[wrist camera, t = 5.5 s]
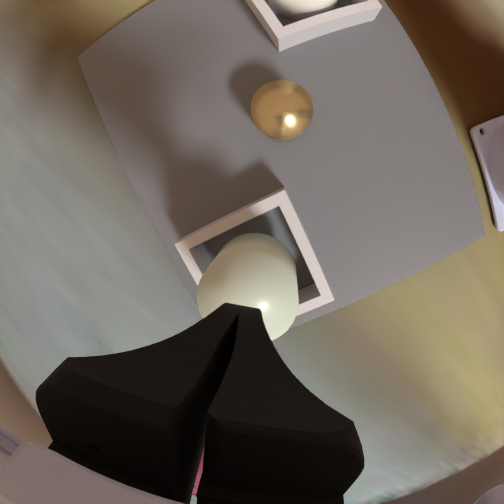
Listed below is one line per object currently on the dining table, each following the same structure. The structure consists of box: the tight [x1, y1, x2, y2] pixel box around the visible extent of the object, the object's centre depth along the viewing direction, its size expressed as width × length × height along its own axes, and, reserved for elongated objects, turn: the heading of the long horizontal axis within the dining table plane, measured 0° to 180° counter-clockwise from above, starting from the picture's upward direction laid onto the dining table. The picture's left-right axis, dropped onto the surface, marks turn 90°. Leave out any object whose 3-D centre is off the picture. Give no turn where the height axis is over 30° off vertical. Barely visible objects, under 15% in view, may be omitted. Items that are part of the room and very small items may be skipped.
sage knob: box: [197, 233, 299, 341], centre depth 15 cm, size 4×4×4 cm
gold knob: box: [251, 80, 313, 142], centre depth 14 cm, size 3×3×2 cm
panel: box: [77, 0, 485, 329], centre depth 15 cm, size 20×24×4 cm
